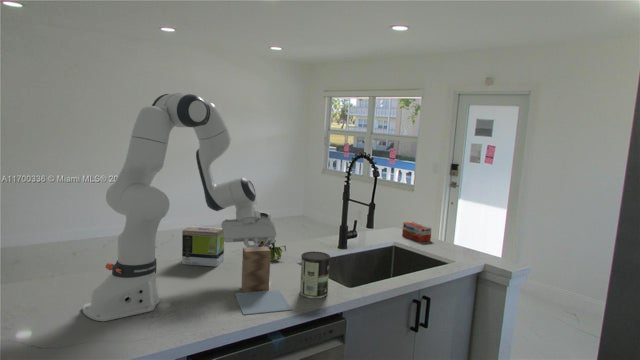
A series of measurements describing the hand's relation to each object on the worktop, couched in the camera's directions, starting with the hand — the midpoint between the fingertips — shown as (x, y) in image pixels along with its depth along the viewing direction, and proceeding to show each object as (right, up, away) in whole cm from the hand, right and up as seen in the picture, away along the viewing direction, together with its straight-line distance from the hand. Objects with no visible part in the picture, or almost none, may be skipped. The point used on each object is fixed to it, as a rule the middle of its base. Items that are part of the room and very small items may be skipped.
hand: (252, 250), depth 164 cm
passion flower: (+3, -9, +33) cm, 34 cm away
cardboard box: (+2, -13, -5) cm, 14 cm away
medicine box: (+80, -7, +83) cm, 116 cm away
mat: (+6, -15, -17) cm, 23 cm away
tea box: (-24, -9, +21) cm, 33 cm away
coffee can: (+23, -15, -6) cm, 28 cm away
